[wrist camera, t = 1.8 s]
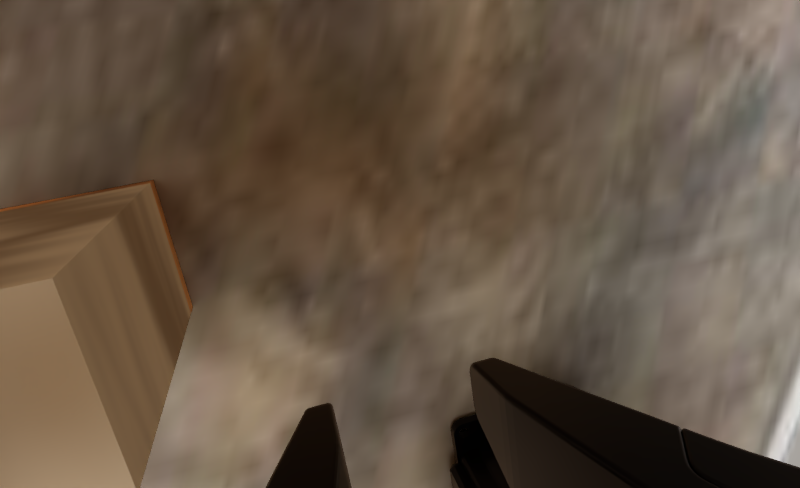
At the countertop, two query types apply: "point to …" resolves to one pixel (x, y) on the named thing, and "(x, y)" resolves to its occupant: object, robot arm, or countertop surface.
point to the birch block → (86, 337)
